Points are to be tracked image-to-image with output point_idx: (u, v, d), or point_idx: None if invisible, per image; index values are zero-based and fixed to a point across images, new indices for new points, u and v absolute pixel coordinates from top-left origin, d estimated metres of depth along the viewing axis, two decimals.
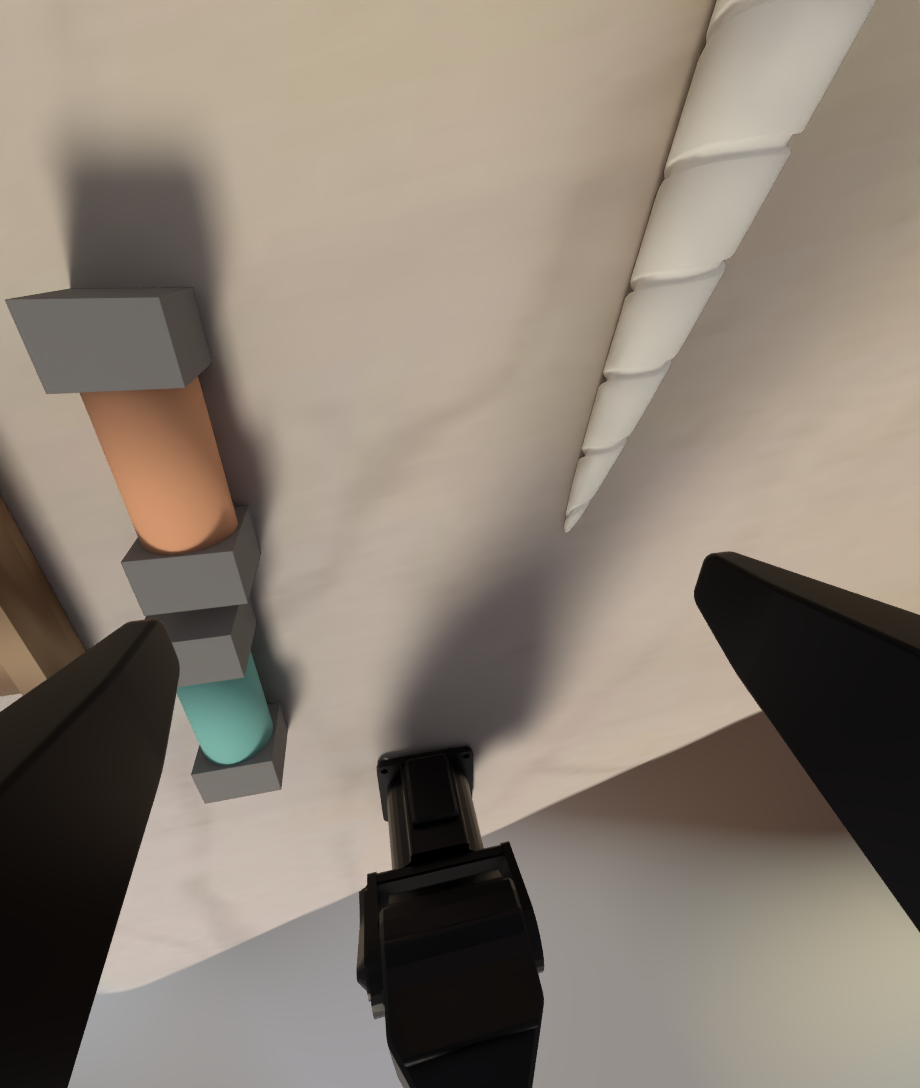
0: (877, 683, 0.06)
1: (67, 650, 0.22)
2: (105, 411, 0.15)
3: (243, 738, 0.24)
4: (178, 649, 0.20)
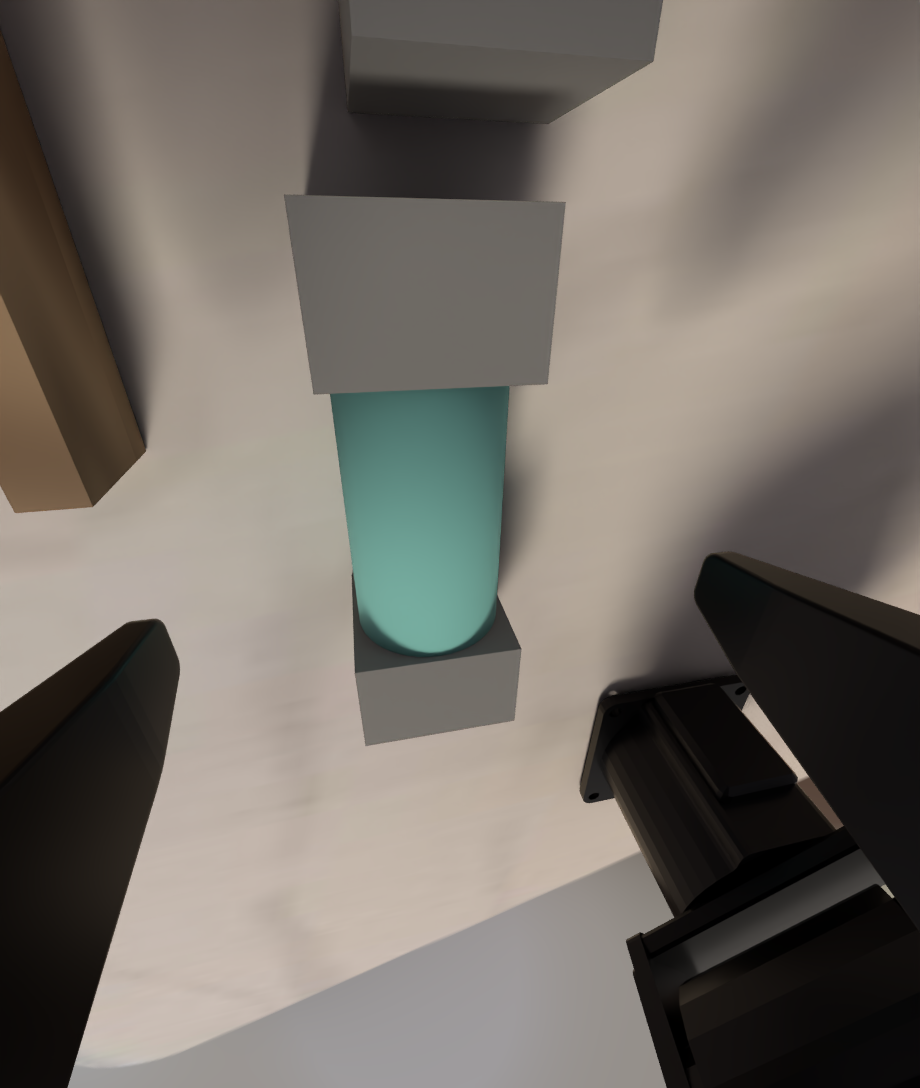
0: (877, 683, 0.06)
1: (80, 334, 0.09)
2: None
3: (474, 590, 0.11)
4: (417, 231, 0.07)
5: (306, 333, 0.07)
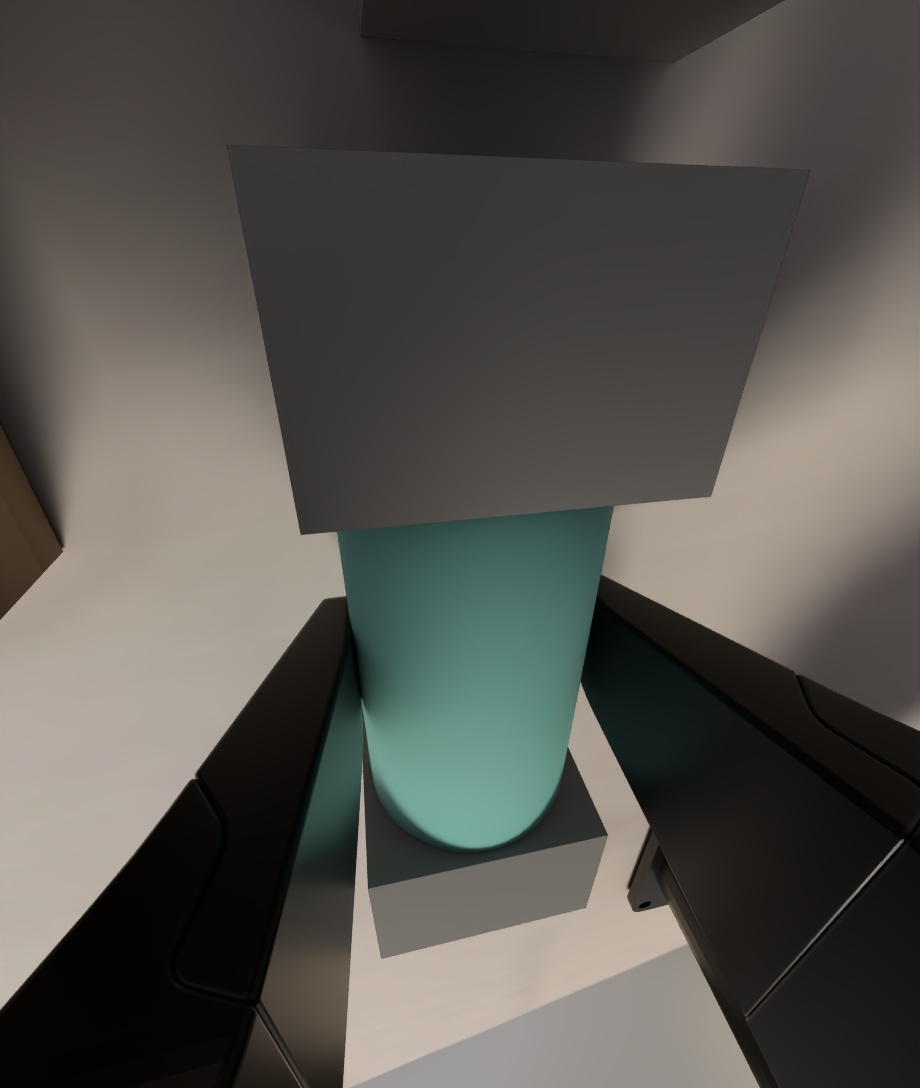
0: (683, 719, 0.06)
1: None
2: None
3: (546, 766, 0.07)
4: (514, 231, 0.03)
5: (284, 431, 0.04)
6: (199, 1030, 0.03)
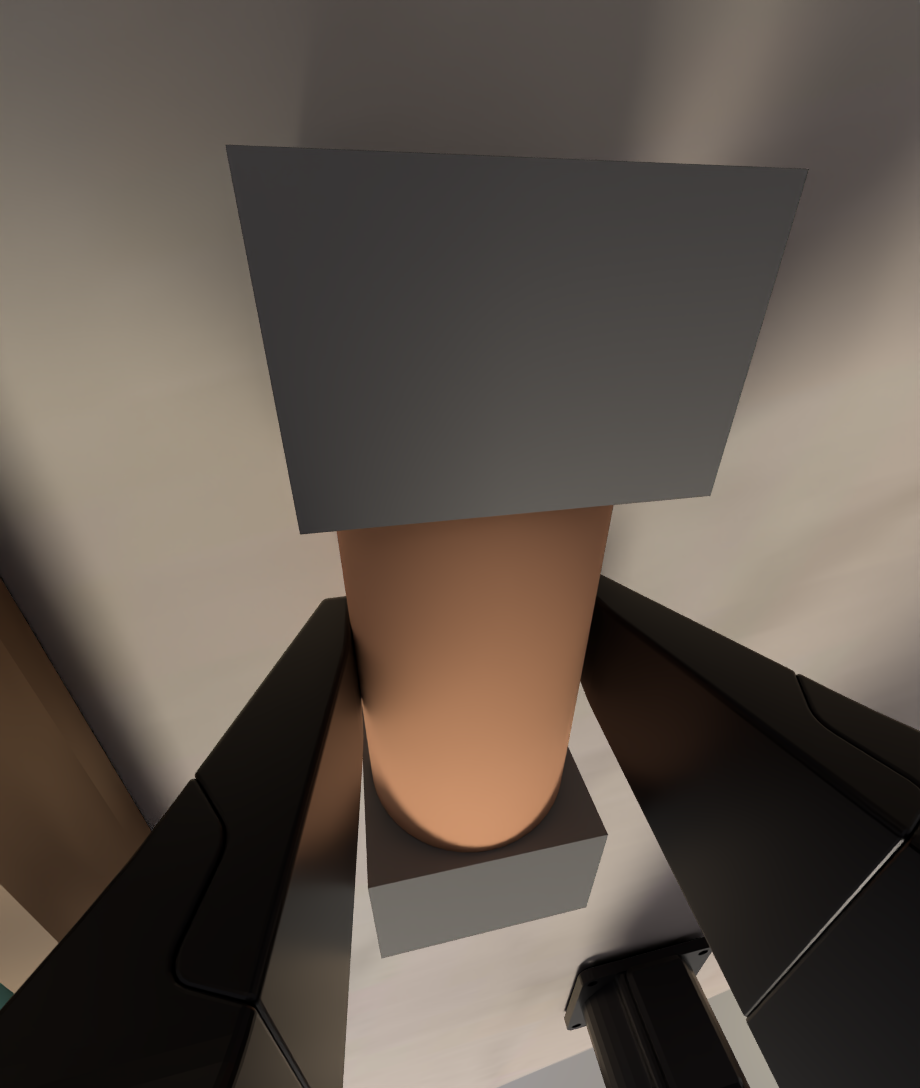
0: (683, 719, 0.06)
1: None
2: (442, 566, 0.05)
3: None
4: None
5: None
6: (198, 1030, 0.03)
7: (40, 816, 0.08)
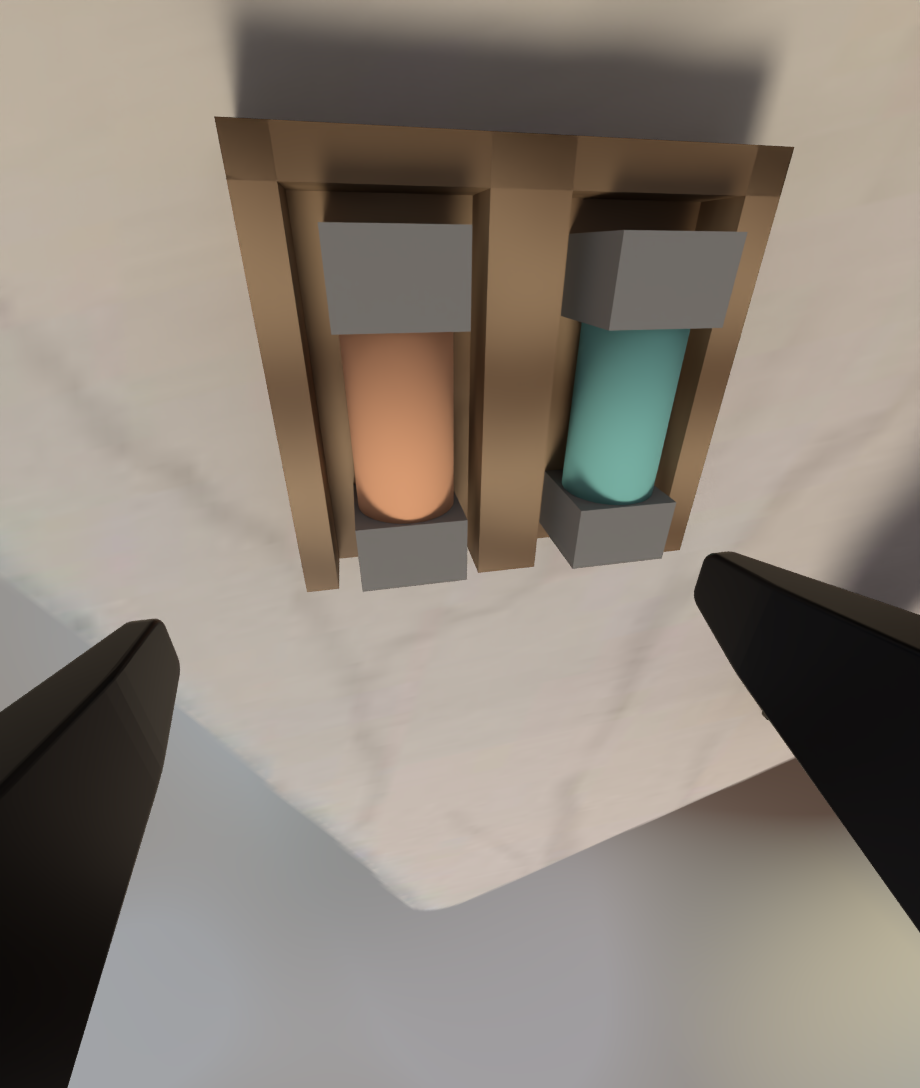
0: (877, 683, 0.06)
1: None
2: (379, 357, 0.14)
3: (654, 460, 0.17)
4: (677, 246, 0.14)
5: (614, 297, 0.14)
6: None
7: None
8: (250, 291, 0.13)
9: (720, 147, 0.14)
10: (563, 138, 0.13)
